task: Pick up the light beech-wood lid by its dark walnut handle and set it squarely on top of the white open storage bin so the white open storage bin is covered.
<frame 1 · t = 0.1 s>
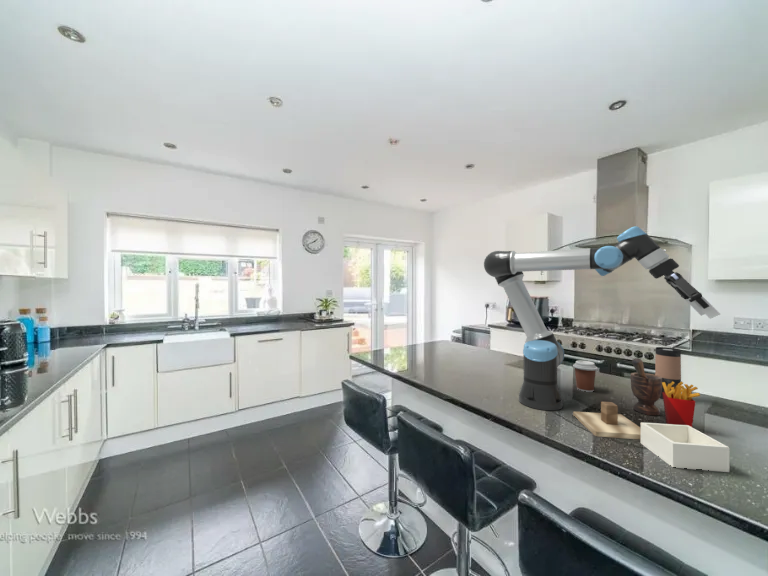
hand: (710, 315, 99), 36 cm above the countertop, tool tilted 35°, fingers open, 13 cm apart
travel mug: (667, 398, 123), on the countertop
white open storage bin: (681, 456, 81), on the countertop
mortar and pestle: (645, 413, 109), on the countertop
french fries: (682, 429, 96), on the countertop
lid: (609, 428, 98), on the countertop
coffee cup: (585, 390, 134), on the countertop
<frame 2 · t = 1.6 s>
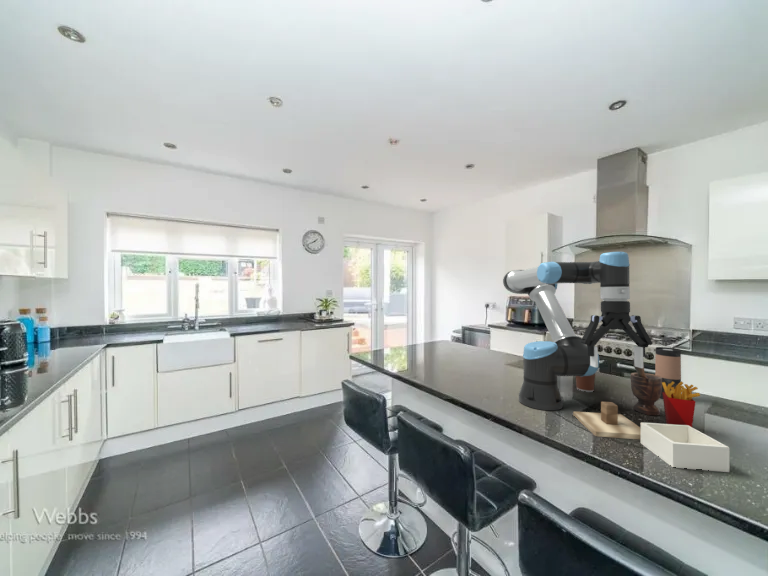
hand: (616, 367, 97), 19 cm above the countertop, tool pointing down, fingers open, 13 cm apart
nothing on the countertop moved.
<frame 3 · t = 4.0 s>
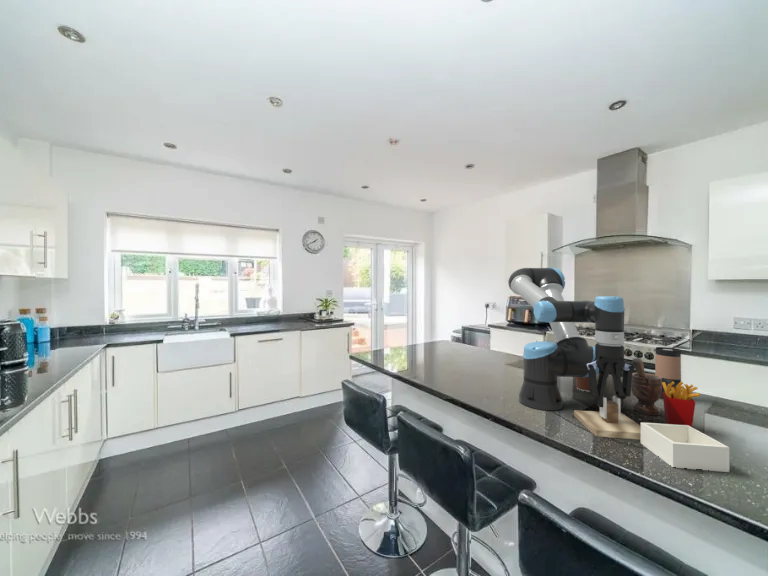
hand: (609, 417, 98), 3 cm above the countertop, tool pointing down, fingers closed on lid, 3 cm apart
lid: (609, 427, 98), on the countertop, touching gripper
everything else where it was.
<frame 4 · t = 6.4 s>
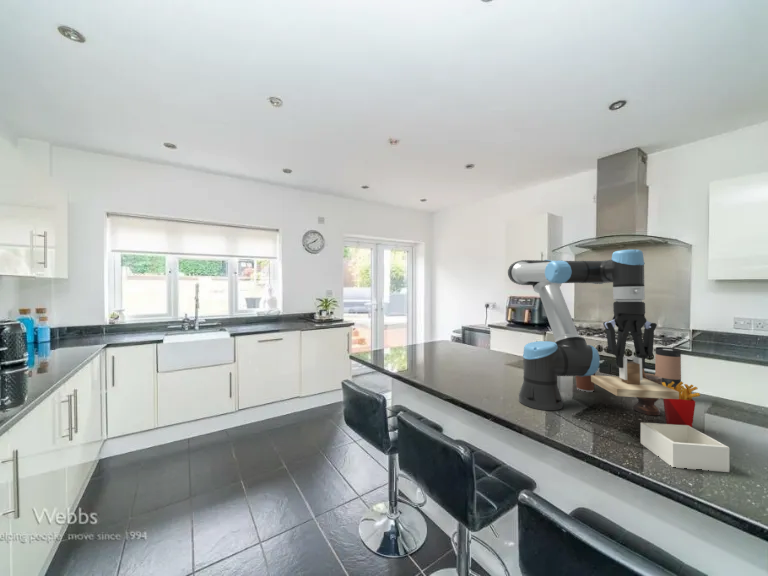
hand: (630, 378, 92), 17 cm above the countertop, tool pointing down, fingers closed on lid, 3 cm apart
lid: (630, 389, 91), point 14 cm above the countertop, touching gripper
everything else where it was.
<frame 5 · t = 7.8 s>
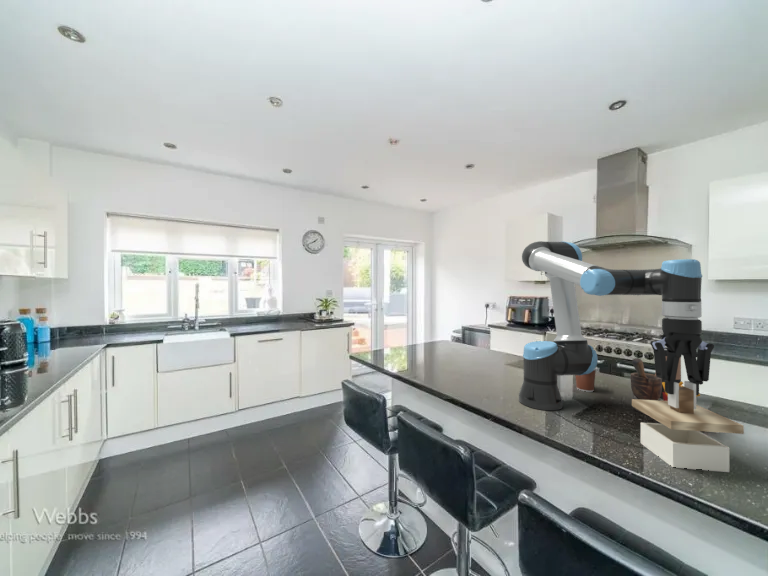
hand: (681, 406, 80), 13 cm above the countertop, tool pointing down, fingers closed on lid, 3 cm apart
lid: (681, 418, 80), point 10 cm above the countertop, touching gripper
everything else where it was.
when the fingers open (10 cm above the countertop, at t = 8.8 s): lid drops 1 cm, resting on white open storage bin.
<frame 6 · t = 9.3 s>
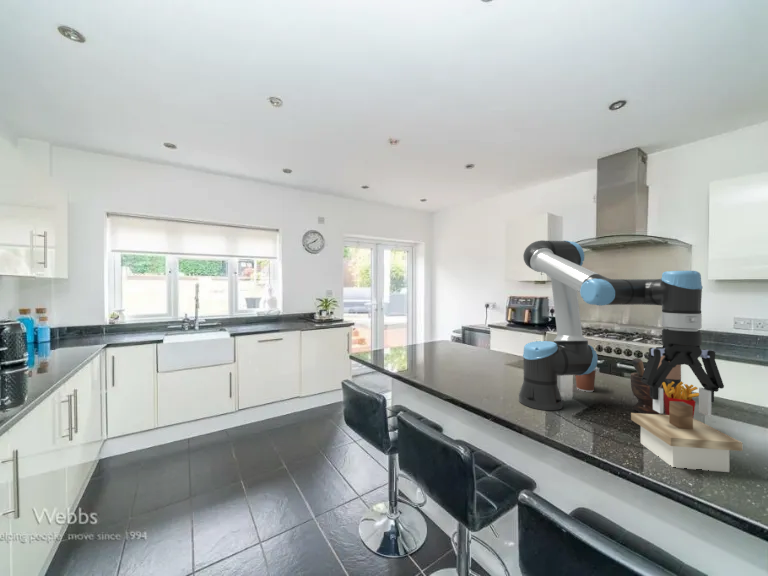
hand: (681, 412, 81), 12 cm above the countertop, tool pointing down, fingers open, 10 cm apart
lid: (680, 433, 81), point 6 cm above the countertop, touching white open storage bin
everything else where it was.
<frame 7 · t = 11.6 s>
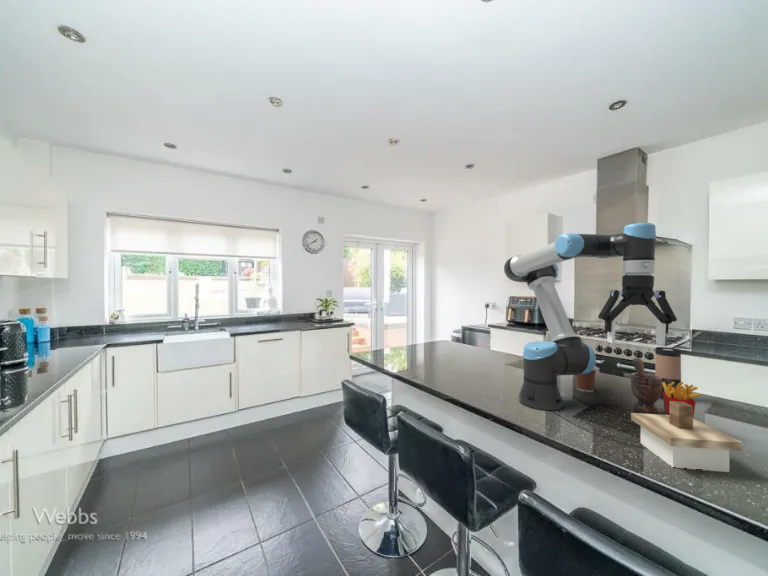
hand: (635, 343, 94), 27 cm above the countertop, tool pointing down, fingers open, 13 cm apart
nothing on the countertop moved.
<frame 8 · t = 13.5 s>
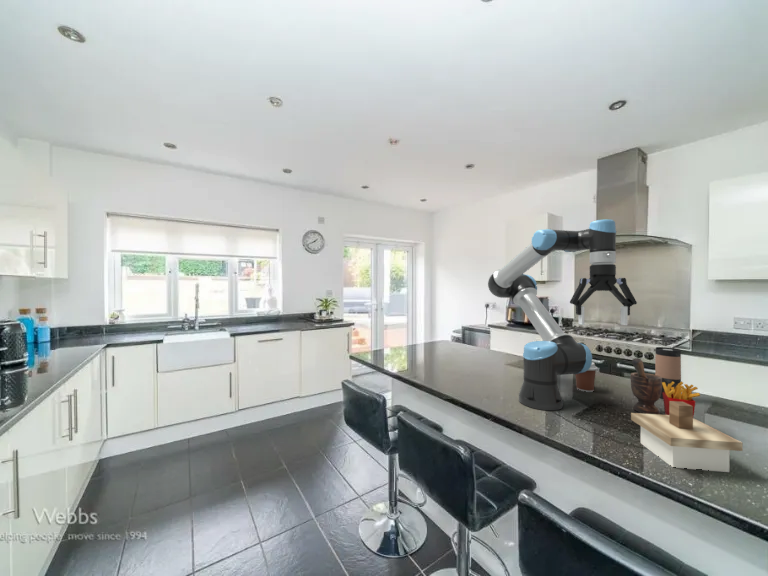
hand: (602, 324, 107), 32 cm above the countertop, tool pointing down, fingers open, 13 cm apart
nothing on the countertop moved.
at the end: lid 0.1 cm off-centre on the white open storage bin, point 6.0 cm above the white open storage bin's base; lid tilted 0°; the gripper is holding nothing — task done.
